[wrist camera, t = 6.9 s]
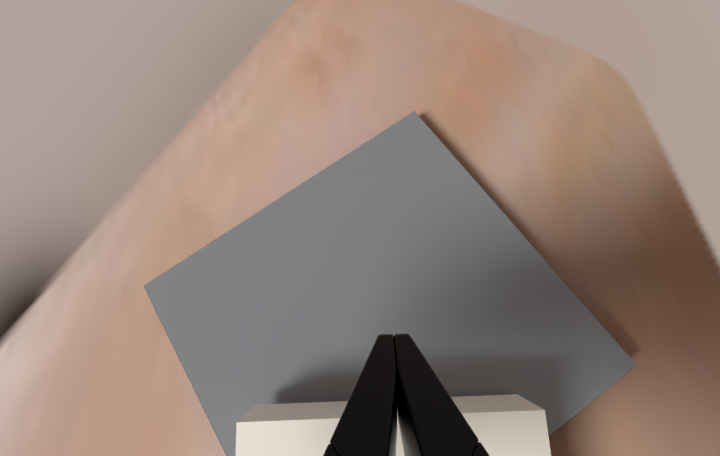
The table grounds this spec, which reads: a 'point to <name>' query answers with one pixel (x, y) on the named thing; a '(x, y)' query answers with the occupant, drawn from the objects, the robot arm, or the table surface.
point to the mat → (380, 293)
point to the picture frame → (319, 420)
